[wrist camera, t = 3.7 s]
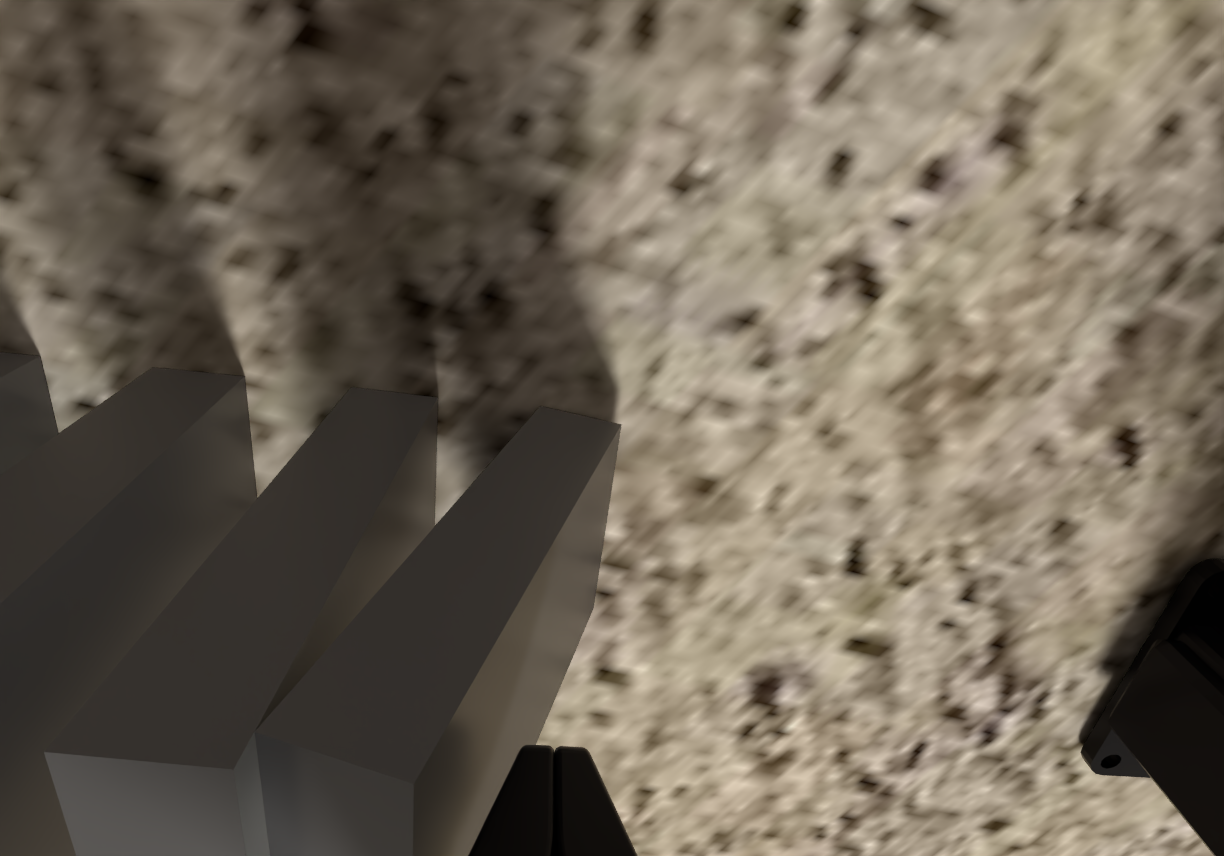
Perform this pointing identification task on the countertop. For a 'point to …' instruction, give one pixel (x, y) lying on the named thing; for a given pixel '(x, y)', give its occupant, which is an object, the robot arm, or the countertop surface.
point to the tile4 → (23, 408)
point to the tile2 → (246, 640)
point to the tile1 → (447, 660)
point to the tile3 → (104, 561)
